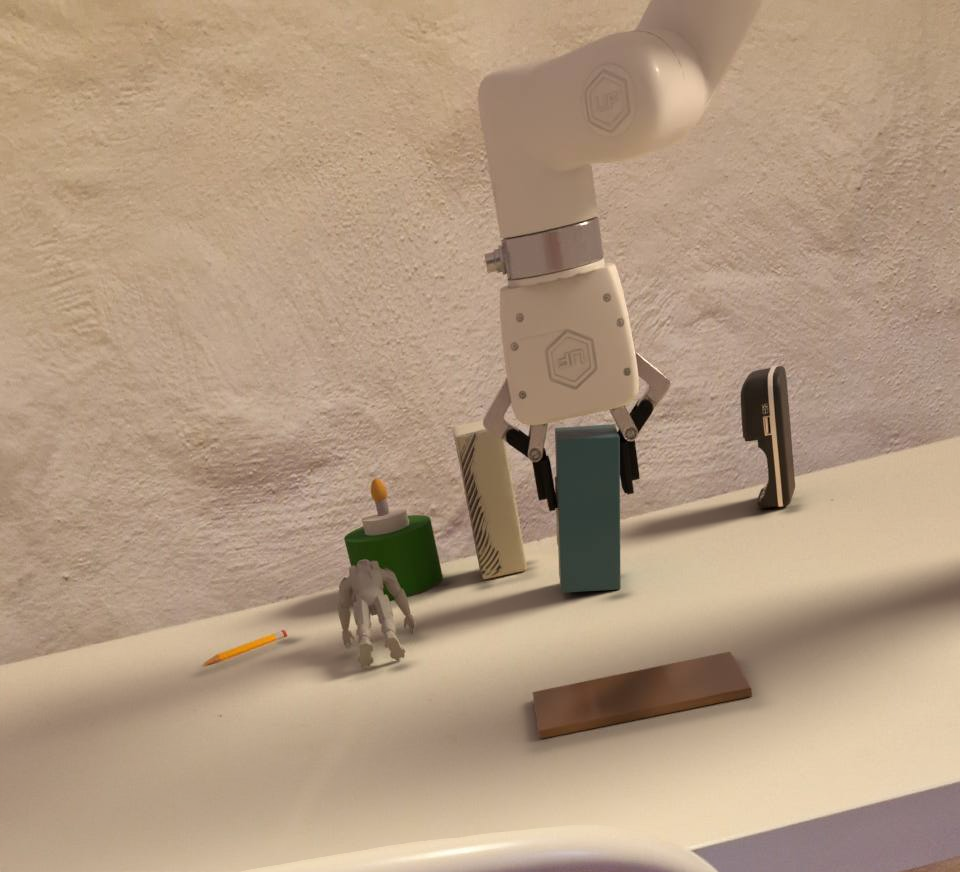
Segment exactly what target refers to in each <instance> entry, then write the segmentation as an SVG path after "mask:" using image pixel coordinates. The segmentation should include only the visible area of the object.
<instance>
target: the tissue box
mask: <svg viewBox="0 0 960 872" xmlns="http://www.w3.org/2000/svg"><path fill="white" fill-rule="evenodd" d="M554 445H555V446H554V447H555V476H554V488H555V494H556V500H557V507H558V508H555V509H556V510H555V522H556V523H555V526H556V527H555V528H556V529H555V530H556V531H555V532H556V543H557V544H556V545H557V550H558V552H557V553H558V576H559V577H558V578H559V585H560V591H561V593H579V592H598V591H614V590H621V588H622V586H621V585H622V583H621V582H622V581H621V577H622V576H621V479H620V437H619V435H618V430H617V427H616V424H614V423H613V424H612V423H610V424H597V425H595V424H594V425H582V426H581V425H580V426H578V425H577V426H564V427H563V426H562V427H555V428H554Z"/></svg>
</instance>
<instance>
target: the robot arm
mask: <svg viewBox="0 0 960 872" xmlns="http://www.w3.org/2000/svg"><path fill="white" fill-rule="evenodd" d="M764 2H765V0H650V1H649V3H648V5H647V6H646V9H645V10H644V12H643V15H642V16H641V18H640V20H639V22H638V24H637V25H636V28H635V30H629V31H621V32H616V33H610V34H609V35H608V34H607V35H605V36H603V37H600V38H598V39H596V40H593V41H591V42H589V43H586V44H584V45H582V46H580V47H579V48H576V49H574V50H571V51H569V52H567V53H565V54H562V55H556V56H545V57H541V58H537V59H532V60H528V61H524V62H520V63H516V64H513V65H508V66H504V67H501V68H498V69H496V70H494V71H492V72H490V73H488V74H487V75H485V76H484V77H483V79H482V80H481V81H480V83H479V87H478V92H477V103H478V104H477V105H478V113H479V120H480V124H481V130H482V135H483V136H482V137H483V142H484V147H485V148H484V149H485V154H486V160H487V166H488V172H489V178H490V184H491V190H492V195H493V201H494V207H495V208H494V209H495V213H496V219H497V225H498V232H499V238H500V245H497V248H496V249H493V251H492V252H487V253H484V260H485V261H484V262H485V266H486V272H487V274H491V273H494V272H495V273H496V272H497V274H499V273H502V275H506V278H507V285H504V286H502V287H501V288H500V289H499V318H500V319H499V320H500V330H501V331H500V332H501V341H502V349H503V351H502V352H503V359H504V365H505V372H506V373H505V374H506V377H505V378H504V381H503V382H502V384H501V386H500V388H499V389H498V391H497V393H496V395H495V396H494V398H493V400H492V402H491V404H490V405H489V407H488V409H487V411H485V415H484V416H483V419H482V420H483V425H484V427H485V428H486V429H487V430H489V431H490V432H492V433H493V434H495V435H496V436H498V437H499V438H501V439H503V440H504V441H505V443H506V444H508V445H509V446H511V447H512V448H513V449H515V450H516V451H518V452H519V453H520V454H522V455H523V456H524V457H526V458H527V459H528V460H529V461H531V463H532V469H533V470H532V471H533V475H534V482H535V487H536V493H537V498H538V501H543V500H546V502H547V503H546V504H547V507H548V510H549V512H553V511H556V508H558V507H557V500H556V494H555V481H554V475H553V471H552V465H551V459H550V456H549V454H547V451H546V448H545V443H546V438H547V437H546V436H547V431H548V426H549V425H548V424H550V423H551V424H552V423H554V422H555V423H557V422H560V421H564V420H569V419H574V418H578V417H583V416H588V415H593V414H596V413H600V412H605V411H609V413H610V415H611V417H612V419H613V420H614V422H615V425H616V426H617V428H618V430H617V432H618V435H619V437H620V486H621V489H622V490H623V492H624V494H626V495H632V494H635V491H634V483H633V481H638V480H640V479H641V478H640V477H641V476H640V469H639V461H638V454H637V446H636V445H637V444H636V440H637V438H638V436H639V433H641V431H642V429H643V427H644V425H645V424H646V423H647V422H648V420H649V419H650V417H651V416H652V414H653V412H654V409H655V408H656V406H658V404H659V403H660V402H661V400H662V399H663V398H664V396H666V393H667V392H668V391H669V389H670V387H671V380H670V379H669V378H668V377H667V376H666V375H664V374H663V372H661V371H660V370H658V368H656V367H655V366H654V365H653V364H651V363H650V362H649V361H648V360H647V359H645V358H644V357H643V356H642V355H641V354H639V353H638V352H637V351H636V350H635V344H634V338H633V332H632V326H631V320H630V317H629V311H628V307H627V302H626V297H625V293H624V289H623V285H622V282H621V278H620V275H619V272H618V269H617V266H616V263H615V262H605V258H604V248H603V241H602V234H601V226H600V218H599V213H598V211H599V210H598V204H597V197H596V190H595V189H596V188H595V182H594V175H593V167H592V165H593V164H612V163H613V164H614V163H623V162H630V161H634V160H637V159H640V158H643V157H647V156H649V155H651V154H653V153H657V152H660V151H663V150H665V149H668V148H672V147H673V146H675V145H677V144H678V143H679V142H681V141H682V140H683V139H684V138H685V137H686V136H687V135H688V134H689V133H690V132H691V131H693V129H694V128H695V127H696V125H697V124H698V123H699V121H700V120H701V118H702V117H703V115H704V113H705V112H706V110H707V109H708V107H709V105H710V103H711V102H712V100H713V98H714V97H715V95H716V93H717V91H718V89H719V88H720V86H721V84H722V83H723V81H724V79H725V77H726V76H727V73H728V72H729V70H730V68H731V66H732V64H733V63H734V61H735V60H736V58H737V56H738V54H739V52H740V51H741V49H742V46H743V45H744V43H745V41H746V39H747V37H748V35H749V33H750V31H751V29H752V27H753V26H754V23H755V21H756V19H757V17H758V15H759V13H760V11H761V9H762V7H763V4H764ZM639 378H641V380H643V381H644V382H645V383H646V385H647V386H646V389H645V391H644V392H643V394H642V395H641V397H640V398H639V399H638V400H637V401H636V403H635V404H634V406H633V407H632V409H631V411H630V412H629V410H628V408H627V407H626V405H628V404H630V403H631V402H633V401H635V399H636V398H637V397H638V395H639V392H640V379H639ZM510 405H511V408H512V411H513V414H514V416H515V418H516V419H517V421H518V422H519V423H521V424H524V425H528V426H529V429H528V434H526V433H525V432H524V431H522V430H521V429H519V428H517V427H516V426H514V425H512V424H511V423H510V422H508V421H506V419H505V414H506V413H507V411H508V409H509V408H510Z"/></svg>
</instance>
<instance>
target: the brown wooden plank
mask: <svg viewBox="0 0 960 872" xmlns="http://www.w3.org/2000/svg"><path fill="white" fill-rule="evenodd" d="M752 690H753V689H752V686H751V685H750V683H749V682H748V679H747V678H746V676H745V675H744V673H743V671H742V669H741V667H740V666H739V663H738V662H737V659H736V658H735V657H734V655H733V654H732V652H731V651H726V652H720V653H715V654H711V655H705V656H701V657H697V658H692V659H687V660H682V661H677V662H672V663H668V664H662V665H657V666H652V667H648V668H642V669H637V670H634V671H629V672H623V673H619V674H615V675H608V676H603V677H598V678H594V679H589V680H584V681H580V682H574V683H569V684H566V685H565V684H564V685H560V686H555V687H551V688H545V689H541V690H536V691H533V692H532V697H533V704H534V711H535V718H536V726H537V732H538V737H539V739H540V740H542V739H547V738H552V737H557V736H562V735H563V736H564V735H566V734H572V733H578V732H581V731H587V730H593V729H596V728H601V727H602V728H603V727H607V726H612V725H617V724H621V723H626V722H631V721H632V722H633V721H636V720H642V719H647V718H651V717H656V716H660V715H666V714H671V713H675V712H681V711H685V710H691V709H695V708H701V707H705V706H711V705H715V704H720V703H725V702H730V701H735V700H739V699H745V698H749V697H752V696H753V692H752Z"/></svg>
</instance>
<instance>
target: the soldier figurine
mask: <svg viewBox="0 0 960 872" xmlns="http://www.w3.org/2000/svg"><path fill="white" fill-rule="evenodd" d="M348 574H349V575H348V576H347V577H345V576H344V577H343V578H342V579H341V581H340V583H339V586H338V591H339V592H338V593H339V603H338V604H337V612H338V619H339V621H340V626H341V630H342V631H341V635H342V636H341V637H342V641H343V642H342V643H343V645H344V646H345V648H347V649H351V648H353V645H352V643H351V642H352V641H351V640H353V641H356V638H355V636H354V634H353V633H352V631H351V630H349V629H350V622H351V615H352V614H353V618H354V619H353V620H354V622H355V623H354V624H355V625H356V628H357V629H356V633H355V634H356V636H357V638H358V639H357V640H358V644H359V645H358V657H357V664H359V665H360V667H361V668H362V669H363V668H364V667H367V668H370V667H371V665H372V664H373V663H374V662H375V661H374V658H373V657H372V652H373V651H374V649H373V643H372V642H371V636H372V630H371V627H372V621H371V617H373V616H377V617H378V619H377V620H378V623H379V624H380V625H381V626H380V631H381V632H382V633H383V635H384V638H383V643H384V646H385V648H386V649H389V651H390V654H389V657H390V658H391V659H395V660H396V661H400V659H404V658H405V656H406V654H405V653H406V650H405V648H404V646H402V645H401V643H400V640H399V637H397V632H396V631H397V630H396V622H395V621H394V612H393V607H392V604H391V600H389V598H388V596H387V595H384V593H383V587H384V586H383V584H384V585H385V586H386V588H387V589H388V591H389V592H390V593H391V594H392V596H393V597H394V598H395V599H394V601H395V604H396V606H397V607H398V608H399V609H400V611H401V613H402V615H404V616H405V617H404V620H403V629H404V630H405V629H406V628H407V626H408V630H409V631H408V633H409V634H414V633H416V628H417V627H416V621H415V619H414V617H413V614H412V613H411V608H410V604H409V599H408V596H406V594H405V592H404V590H403V589H401V587H400V585H399V583H398V581H397V578H396V576H395V574H394V573H393V572H392V571H391V570H390V569H388V568H385V569H381V568H379V564H378V562H377V561H371V562H370V561H369V560H367V559H364V560H360V561H359V562H358V563H357V566H356V567H355V565H353V566H351V565H350V566H349V568H348ZM353 596H355V599H356V601H353ZM352 602H353V603H352ZM352 604H353V605H352ZM351 606H352V607H353V608H352V610H353V613H352V614H351Z"/></svg>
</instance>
